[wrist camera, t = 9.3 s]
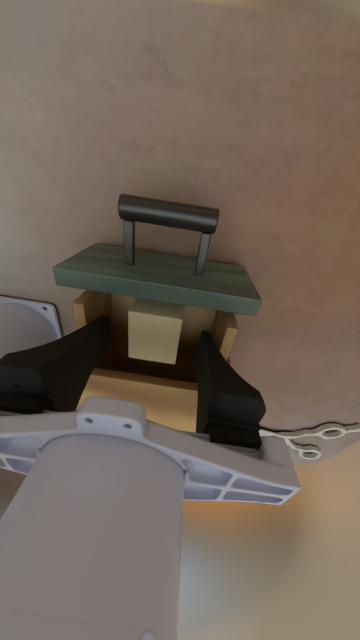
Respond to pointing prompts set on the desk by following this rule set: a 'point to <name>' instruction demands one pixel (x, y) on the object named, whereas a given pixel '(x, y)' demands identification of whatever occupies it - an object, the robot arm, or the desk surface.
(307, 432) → the scissors
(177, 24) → the desk surface
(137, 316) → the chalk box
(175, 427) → the cabinet
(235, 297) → the drawer
